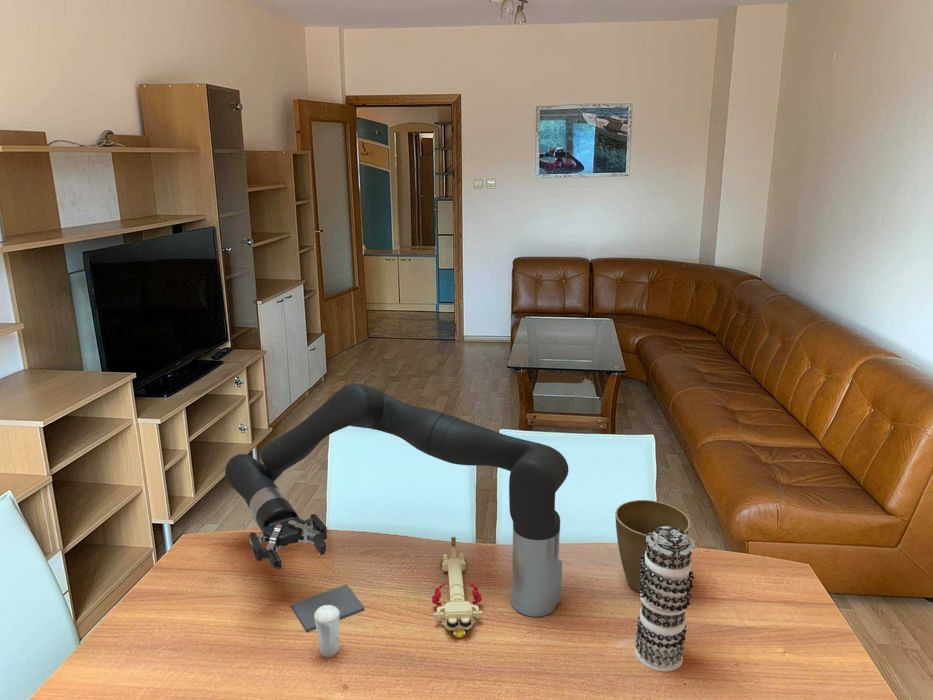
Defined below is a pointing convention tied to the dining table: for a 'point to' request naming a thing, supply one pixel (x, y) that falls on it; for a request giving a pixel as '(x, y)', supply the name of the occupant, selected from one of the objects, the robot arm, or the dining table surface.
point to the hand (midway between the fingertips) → (301, 558)
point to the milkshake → (327, 629)
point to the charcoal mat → (332, 597)
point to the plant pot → (642, 531)
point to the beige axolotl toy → (456, 596)
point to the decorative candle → (664, 598)
